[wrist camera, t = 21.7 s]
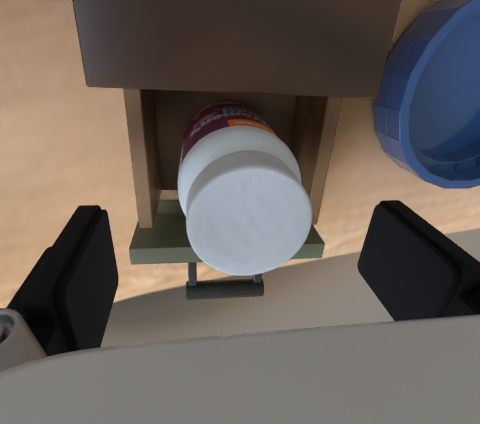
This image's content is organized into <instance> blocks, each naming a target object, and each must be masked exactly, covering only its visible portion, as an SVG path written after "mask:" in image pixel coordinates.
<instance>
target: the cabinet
mask: <svg viewBox="0 0 480 424" xmlns="http://www.w3.org/2000/svg"><path fill="white" fill-rule="evenodd" d="M72 1H73V7H74V13H75V19H76V25H77V31H78V37H79V43H80V49H81V55H82V61H83V67H84V73H85V79H86V85H87V86H88V87H102V88H126V89H150V90H175V91H199V92H223V93H248V94H272V95H296V96H321V97H345V98H369V99H375V98H377V96H378V92H379V88H380V84H381V80H382V76H383V72H384V68H385V64H386V60H387V56H388V52H389V48H390V44H391V39H392V35H393V31H394V27H395V23H396V19H397V15H398V11H399V7H400V3H401V0H72Z"/></svg>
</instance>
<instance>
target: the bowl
mask: <svg viewBox="0 0 480 424" xmlns="http://www.w3.org/2000/svg"><path fill="white" fill-rule="evenodd" d="M373 104H374V127H375V131H376V134H377V136H378V139H379V141H380V144H381V146H382V149H383V150H384V152H385V153H386V154H387V155H388V156H389V157H390V158H391V159H392V160H393V161H394V162H395V163H396V164H397V165H398V166H400V167H402V168H403V169H405V170H407V171H408V172H410V173H412V174H414V175H415V176H417V177H419V178H420V179H422V180H424V181H426V182H429V183H431V184H434V185H437V186H439V187H442V188H472V187H476V186H479V185H480V0H441V1H439V2H438V3H436V4H435V5H433V6H432V7H431V8H429V9H428V10H426V11H425V12H423V13H422V14H421V15H420V16H419V17H418V18H417V20H416V21H415V22H414V23H413V24H412V25H411V26H410V28H409V29H408V30H407V31H406V32H405V33H404V34H403V36H402V37H401V38H400V39H399V40H398V42H397V43H396V45H395V47H394V49H393V50H392V52H391V54H390V56H389V58H388V60H387V62H386V64H385V68H384V72H383V76H382V80H381V84H380V88H379V92H378V96H377V98H375V99H374V103H373Z"/></svg>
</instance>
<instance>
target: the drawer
mask: <svg viewBox="0 0 480 424" xmlns="http://www.w3.org/2000/svg"><path fill="white" fill-rule="evenodd" d="M123 90H124V99H125V108H126V116H127V125H128V134H129V142H130V151H131V160H132V168H133V177H134V186H135V194H136V203H137V212H138V223H137V226H136V229H135V232H134V235H133V238H132V241H131V244H130V248H129V253H130V260H131V264H159V263H188V278H189V281H187V282H186V299H187V300H195V299H214V298H235V297H254V296H263V294H264V283H263V280H262V273H260V274H256V275H253V279H231V280H207V281H197V269H196V262H204V261H202V260H201V259H200V258H199V257H198V255H197V254H196V253H195V251H194V250H193V248H192V246H191V244H190V241H189V239H188V235H187V230H186V216H185V214H184V212H183V210H182V207H181V205H180V201H179V200H159V199H160V195H161V190H178V172H179V164H180V158H181V152H182V145H183V139H184V134H185V131H186V128H187V126H188V124H189V123H190V121H191V119H192V118H193V117H194V116H195V115H196V114H197V113H198V112H199V111H200V110H201V109H203V108H204V107H206V106H208V105H210V104H213V103H216V102H221V101H233V102H238V103H242V104H244V105H246V106H248V107H250V108H252V109H253V110H254V111H256V112H257V113H258V114H259V115H260V116H261V117H262V118H263V120H264V121H265V122H266V123H267V124H268V125H269V127H271V129H273V131H274V132H275V133H276V134H277V136H278V137H279V138H280V139H281V140H282V141H283V142H284V143H285V144H286V145H287V146H288V148H289V149H290V151H291V152H292V154H293V155H294V157H295V159H296V161H297V163H298V166H299V170H300V174H301V184H302V186H303V187H304V189H305V190H306V192H307V194H308V196H309V199H310V202H311V207H312V223H311V228H310V231H309V234H308V236H307V239H306V240H305V242H304V244H303V245H302V247H301V248H300V249H299V250H298V252H297V253H296V254H295V255H294V256H293V257H292V258H290V259H304V258H322V254H323V250H324V245H325V243H324V241H323V240H322V238H321V237H320V235H319V234H318V232H317V231H316V229H315V228H314V226H313V225H315V224H317V222H318V217H319V212H320V206H321V201H322V196H323V191H324V186H325V181H326V176H327V171H328V166H329V161H330V156H331V151H332V146H333V141H334V136H335V131H336V126H337V121H338V116H339V111H340V106H341V101H342V97H321V96H296V95H272V94H248V93H223V92H199V91H175V90H150V89H126V88H123Z"/></svg>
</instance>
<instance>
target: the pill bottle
mask: <svg viewBox="0 0 480 424" xmlns="http://www.w3.org/2000/svg"><path fill="white" fill-rule="evenodd" d="M178 196H179V201H180V205H181V207H182V210H183V212H184V214H185V216H186V230H187V235H188V239H189V241H190V244H191V246H192V248H193V250H194V251H195V253H196V254H197V255H198V257H199V258H200V259H201V260H202V261H204V262H205V263H206V264H208V265H209V266H210V267H212V268H214V269H216V270H218V271H221V272H224V273H227V274H232V275H256V274H260V273H264V272H267V271H270V270H273V269H275V268H277V267H279V266H281V265H282V264H284V263H285V262H287V261H288V260H289V259H290V258H292V257H293V256H294V255H295V254H296V253H297V252H298V250H299V249H300V248H301V247H302V245H303V244H304V242H305V240H306V239H307V236H308V234H309V231H310V228H311V223H312V207H311V202H310V199H309V196H308V194H307V192H306V190H305V189H304V187H303V186H302V184H301V174H300V170H299V166H298V163H297V161H296V159H295V157H294V155H293V154H292V152H291V151H290V149H289V148H288V146H287V145H286V144H285V143H284V142H283V141H282V140H281V139H280V138H279V137H278V136H277V134H276V133H275V132H274V131H273V129H271V127H269V125H268V124H267V123H266V122H265V121H264V120H263V118H262V117H261V116H260V115H259V114H258V113H257V112H256V111H254V110H253V109H252V108H250V107H248V106H246V105H244V104H242V103H238V102H233V101H221V102H216V103H213V104H210V105H208V106H206V107H204V108H203V109H201V110H200V111H199V112H198V113H197V114H196V115H195V116H194V117H193V118H192V119H191V121H190V123H189V124H188V126H187V128H186V131H185V134H184V139H183V145H182V152H181V158H180V164H179V172H178Z"/></svg>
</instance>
